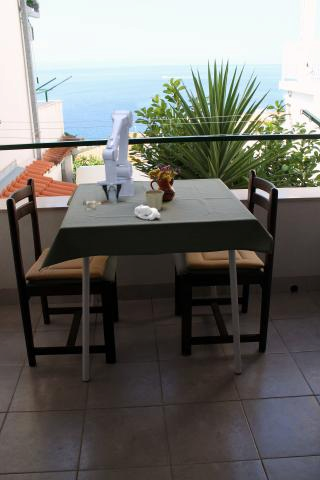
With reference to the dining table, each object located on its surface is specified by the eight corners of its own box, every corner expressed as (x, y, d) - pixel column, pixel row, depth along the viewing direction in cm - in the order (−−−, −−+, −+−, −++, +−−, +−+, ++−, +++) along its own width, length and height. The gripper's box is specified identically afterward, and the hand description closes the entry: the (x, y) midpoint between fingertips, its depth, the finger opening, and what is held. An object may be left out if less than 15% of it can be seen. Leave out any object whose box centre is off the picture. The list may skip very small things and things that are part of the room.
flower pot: (154, 205, 247) (154, 188, 244) (168, 209, 241) (168, 191, 238) (140, 209, 241) (140, 192, 238) (154, 213, 235) (153, 195, 232)
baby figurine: (163, 220, 226) (155, 208, 220) (139, 229, 229) (131, 217, 223) (162, 207, 231) (154, 195, 226) (139, 216, 235) (130, 204, 229)
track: (116, 200, 256) (116, 197, 256) (116, 204, 251) (116, 200, 250) (83, 202, 255) (83, 198, 254) (83, 205, 249) (83, 201, 249)
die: (95, 208, 245) (94, 200, 244) (95, 210, 241) (94, 202, 240) (87, 208, 245) (86, 201, 243) (86, 211, 241) (86, 203, 240)
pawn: (116, 200, 256) (116, 184, 253) (117, 202, 252) (116, 186, 249) (108, 200, 255) (107, 184, 252) (108, 203, 251) (107, 187, 248)
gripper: (96, 175, 244) (98, 202, 249) (125, 174, 245) (127, 200, 250) (96, 172, 250) (98, 198, 255) (125, 170, 252) (126, 196, 256)
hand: (112, 199), depth 253 cm, fingers closed on pawn, 4 cm apart
